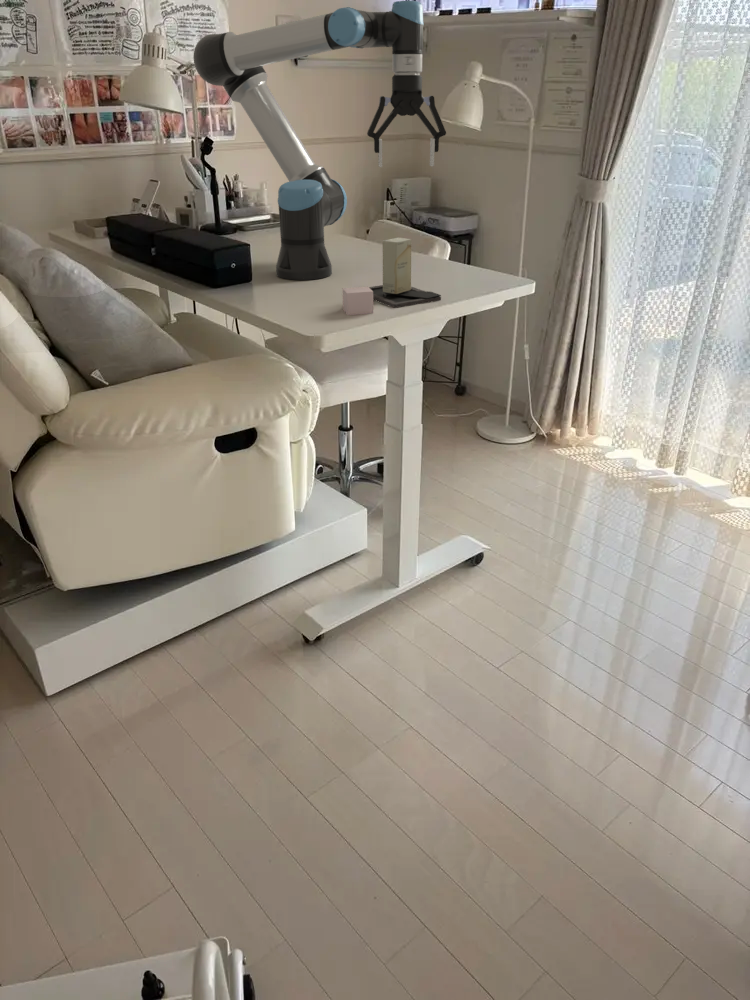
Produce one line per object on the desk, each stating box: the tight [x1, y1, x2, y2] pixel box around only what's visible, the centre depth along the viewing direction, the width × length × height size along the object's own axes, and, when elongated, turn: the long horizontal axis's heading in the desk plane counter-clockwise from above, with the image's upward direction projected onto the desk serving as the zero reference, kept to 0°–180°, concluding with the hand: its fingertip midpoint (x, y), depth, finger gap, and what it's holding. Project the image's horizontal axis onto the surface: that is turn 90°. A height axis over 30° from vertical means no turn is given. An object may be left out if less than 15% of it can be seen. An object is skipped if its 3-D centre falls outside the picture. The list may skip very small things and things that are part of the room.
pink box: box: [341, 286, 374, 316], centre depth 180 cm, size 6×5×5 cm
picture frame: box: [368, 284, 442, 309], centre depth 193 cm, size 13×2×18 cm
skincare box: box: [382, 236, 412, 294], centre depth 190 cm, size 6×4×12 cm
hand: (406, 166), depth 207 cm, fingers open, 13 cm apart
